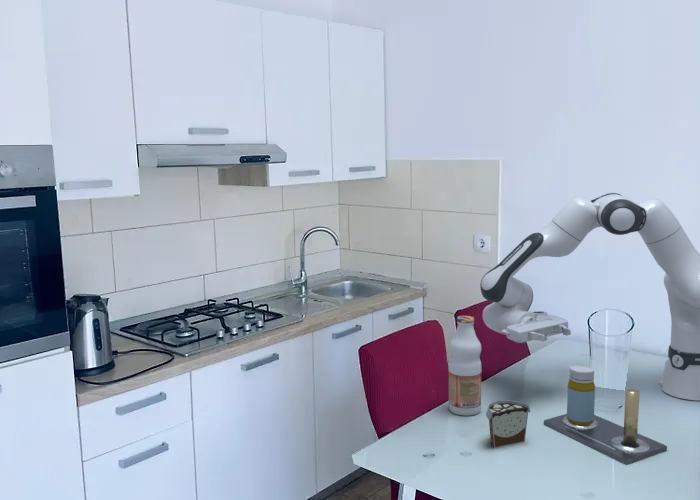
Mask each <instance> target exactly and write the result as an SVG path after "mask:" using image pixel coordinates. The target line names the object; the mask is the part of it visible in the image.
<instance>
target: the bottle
mask: <svg viewBox="0 0 700 500" xmlns="http://www.w3.org/2000/svg"><path fill="white" fill-rule="evenodd" d="M594 378H595V369H594V368H593V367H591V366H588V365H584V364H578V365H577V364H576V365H572V366H570V367H569V381H568V382H567V396H566V397H567V398H566V414H567V419H568V421H569V422H570V423H572V424H575V425H579V426H588V425H590V424H592V423H593V422H594V415H595V405H596V404H595V400H596V385H595V382H594V380H595V379H594Z"/></svg>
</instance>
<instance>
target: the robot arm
mask: <svg viewBox="0 0 700 500" xmlns="http://www.w3.org/2000/svg"><path fill="white" fill-rule="evenodd" d="M597 228H603V229H605V231H606V232H608V233H610V234H612V235H616V236H617V235H618V236H623V235H628V234H631V233H635V232H638V234H639V236H640V237H641V238H642V240H643V242H644V243H645V245H646V247H647V249H648V250H649V252H650V254H651V256H652V257H653V259H654V260H655V262H656V263H657V265H658V266H659V267H660V268H661V269H662V271H663V272H664V273H665V274H664V277H663V285H664V288H665V290H666V292H667V299H668V304H669V305H668V306H669V311H670V321H671V327H670V329H671V330H670V343H669V346H668V350H667V353H668V354H667V357H668V358H667V360H665V362H664V363H665V364H664V368H663V376H662V379H660V380H659V385H660V386H661V391H663V392H664V393H666V394H667V395H669V396H672V397H675V398H678V399H682V400H683V399H684V400H689V401H698V402H699V401H700V253H699V251H698V250H697V248H696V247H695V246H694V245H693V243H692V241H691V240H690V238H689V236H688V234H687V233H686V231H685V230H684V228H683V227H682V225H681V223H680V222H679V220H678V219H677V217H676V215H675V214H674V213H673V212H672V210H671V209H670V208H669V207H668V206H667V205H666V204H665V203H664V202H663V201H662V200H660V199H658V198H657V199H655V198H652V199H646V200H644V201H642V202H641V203H635V202H634V201H633V200H631V199H629V198H628V197H626V196H624V195H622V194H620V193H617V192H616V193H615V192H609V193H605V194H603V195H601V196H599V197H596V198H594V199H591V200H589V199H586V198H585V197H575V198H573V199H571V200H570V201H569V202H568V203H566V205H564V207H562V208H561V209H560V211H558V213H557V214H555V216H554V217H553V218H552V220H550V222H549V223H548V224H547V225H546V226H544V227H543V228H542V229H541V230H538V231H537V232H534V233H531V234H529V235H528V236H527V237H525V238H524V239H523V240H522V241H521V242H520V243H519V244H517V246H515V247H514V249H512V250H511V252H509V253H508V254H507V255H506V256H505V257H504V258H503V259H502V260H501V261H500V262H499V263H497V265H496V266H494V267H492V268H491V269H490V270H489V271H487V272H486V273H485V274H484V275H483V277H482V278H481V280H480V286H479V287H480V292H481V296H482V298H484V299H485V300H486V301H490V302H492V303H491V304H488V305H486V306H485V307H484V309H483V310H482V320H483V323H484V324H485V326H486V327H487V328H489V329H490V330H491V331H493V332H497V333H499V334H501V335H506V338H507V339H509V340H510V341H512V342H515V343H517V344H523V343H527V342H531V341H539V342H546V341H548V337H551V336H552V337H553V336H555V335H560V334H562V335H563V336H569V335H570V336H571V334H572V330H571V328H569V321H568V320H567V319H565V318H562V317H561V316H556V315H552V314H548V312H547V311H530V308H531V306H532V303H533V301H534V292H533V291H534V290H533V289H532V287H531V286H530V285H529V284H528V283H526V282H524V281H522V280H520V279H518V278H515V277H514V276H515V275H516V274H517V273H518V272H519V271H520V270H521V269H522V268H523V267H524V266H526V265H527V264H528V263H529V262H530V261H531V260H533V259H536V258H540V257H541V258H542V257H549V258H550V257H551V258H561V257H565V256H566V257H567V256H569V255H570V254H572V253H573V252H574V251H575V250H576V249H577V248H578V247H579V246H580V244H581V243H582V242H583V241H584V240H585V238H586V237H587V236H588V234H589V233H590V232H591V231H594V230H595V229H597Z"/></svg>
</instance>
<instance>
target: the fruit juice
mask: <svg viewBox="0 0 700 500" xmlns="http://www.w3.org/2000/svg"><path fill="white" fill-rule="evenodd" d="M456 323H457V326H456V330H455V332H454V336H453V337H452V339H451V340H450V342H449V349H448V350H449V353H450V359H449V363H448V409H449V411H450V412H451V413H452V414H454V415H457V416H462V417H463V416H466V417H470V416H474V415H478V414H479V413H480V412H481V409H482V408H481V407H482V361H481V359H480V356H481V353H482V343H481V342H480V340H479V338H478V336H477V335H476V334H477V333H476V331H475V329H474V324H475V317H474V316H470V315H458V316H457V318H456Z"/></svg>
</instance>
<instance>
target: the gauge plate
mask: <svg viewBox="0 0 700 500" xmlns="http://www.w3.org/2000/svg"><path fill="white" fill-rule="evenodd" d="M640 394H641V393H640V390H638V389H635V388H627V389H625V396H624V398H625V399H624V417H623V418H624V419H623V421H624V422H623V426H621V425H620V424H617V423H616V422H615V423H614V422H612V421H610V420H607V419H605V418H603V417H601V416H599V415H596V414H594V422H593V423H592V424H590V425H588V426H579V425H575V424H572V423H570V422H569V421H568V419H567V413H564V414H561V415H557V416H554V417H551V418H547V419H544V420H543V425H544V426H546V427H548V428H551V429H552V430H555V431H556V432H559V433H561V434H562V435H565V436H567V437H569V438H570V439H573V440H575V441H577V442H579V443H580V444H583V445H585V446H587V447H589V448H591V449H593V450H595V451H597V452H599V453H602V454H603V455H606V456H608V457H610V458H612V459H614V460H615V461H618V462H619V463H622V464H624V465H629V464H633V463H636V462H639V461H641V460H643V459H646V458H650V457H652V456H655V455H658V454H660V453H664V452H666V451H667V450H668V445H666V444H664V443H661V442H659V441H656V440H655V439H652V438H650V437H647V436H644V435H643V434H640V433H639V430H638V429H639V414H640V413H639V411H640Z"/></svg>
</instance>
